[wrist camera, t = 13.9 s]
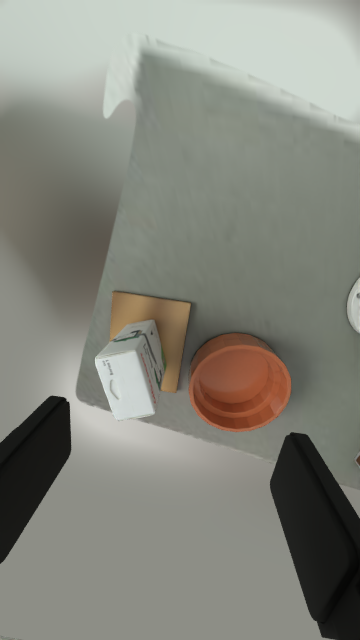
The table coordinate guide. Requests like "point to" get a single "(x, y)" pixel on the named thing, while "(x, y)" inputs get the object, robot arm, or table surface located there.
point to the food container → (357, 459)
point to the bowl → (238, 383)
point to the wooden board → (168, 322)
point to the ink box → (133, 370)
